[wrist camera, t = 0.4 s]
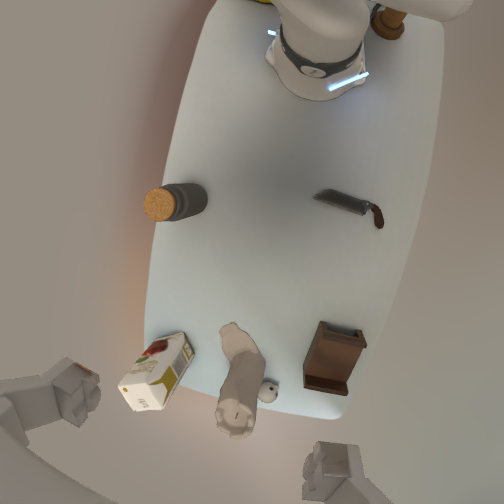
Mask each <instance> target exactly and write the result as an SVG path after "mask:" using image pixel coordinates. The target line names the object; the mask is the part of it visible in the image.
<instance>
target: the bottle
mask: <svg viewBox="0 0 504 504" xmlns="http://www.w3.org/2000/svg"><path fill="white" fill-rule="evenodd" d="M206 204H207V194H206V192H205V190H204V189H203V188H202V187H201V186H200V185H197V184H189V183H186V184H167V185H165V186H163V187H159V188H156V189H153V190H151V191H150V192H149V193H148V194H147V196H146V197H145V200H144V209H145V212H146V214H147V215H148V217H149V218H150V219H152V220H154V221H158V222H161V221H177V220H181V219H184V218H187V217H190V216H193V215H196V214H198V213H200V212H202V211H203V210H204V208H205V207H206Z"/></svg>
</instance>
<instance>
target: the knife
mask: <svg viewBox="0 0 504 504" xmlns="http://www.w3.org/2000/svg"><path fill="white" fill-rule="evenodd" d="M313 199H316V200H319V201H322V202H325V203H328V204H331V205H334V206H337V207H339V208H342V209H345V210H348V211H351V212H354V213H356V214H359V215H362V216H363V215H365V214H366V211H367V210H368V209H371V210H372V211H373V212H374V214H375V226H376V227H377V228H378V229H380V228H383V226H384V219H383V216H382V213H381V210H380V209H379V207H378V206H376V205H375V204H372V203H371V202H369V201H364V200H360V199H357V198H354V197H351V196H349V195H346V194H343V193H340V192H337V191H334V190H325V191H323V192H321V193H319V194H317V195H315V196H314V197H313ZM367 203H369V206H367V205H366V204H367Z"/></svg>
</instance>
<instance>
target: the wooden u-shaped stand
mask: <svg viewBox="0 0 504 504" xmlns="http://www.w3.org/2000/svg"><path fill="white" fill-rule="evenodd" d="M366 347H367V343H366V341H365V338H364V336H363V333H362V331H360V330H356V332H355V334H354V336H349V335H345V334H340V333H336V332H332V331H328V330H327V325H326V322H322V321H320V323H319V326H318V329H317V331H316V334H315V336H314V339H313V342H312V344H311V347H310V349H309V352H308V354H307V357H306V359H305V361H304V364H303V384H304V388H305V389H310V390H315V391H320V392H326V393H331V394H337V395H342V396H347V395H348V388H347V383H346V382H347V380H348V378H349V376H350V374H351V372H352V370H353V368H354V366H355V364H356V362H357V360H358V358H359V356H360V354H361V352H362V350H363V348H366Z"/></svg>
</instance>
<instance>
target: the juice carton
mask: <svg viewBox="0 0 504 504" xmlns="http://www.w3.org/2000/svg"><path fill="white" fill-rule="evenodd" d="M193 358H194V353H193V351H192V349H191V347H190V345H189V343H188V341H187V339H186V337H185V335H184V333H183V332H181V333H177V334H174V335H171V336H166V337H161V338H158V339H156V340H155V341H154V342H153V343H152V344H151V345H150V346H149V347H148V349H147V350H146V351H145V352H144V353H143V354H142V356H141V357H140V358H139V359H138V360H137V361H136V363H135V364H134V365H133V366H132V367H131V369H130V370H129V371H128V372H127V373H126V374H125V376H124V377H123V379H122V380H121V382H120V383H119V385H118V389H119V390H120V391H121V393H122V395H123V396H124V398H125V399H126V401H127V402H128V403H129V405H130V407H131V408H132V410H134V412H137V411H144V410H163V409H164V408H165V406H166V405H167V403H168V401H169V399H170V398H171V396H172V394H173V393H174V391H175V389H176V387H177V386H178V384H179V382H180V380H181V379H182V377H183V375H184V373H185V372H186V370H187V368H188V366H189V365H190V363H191V361H192V359H193Z"/></svg>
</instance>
